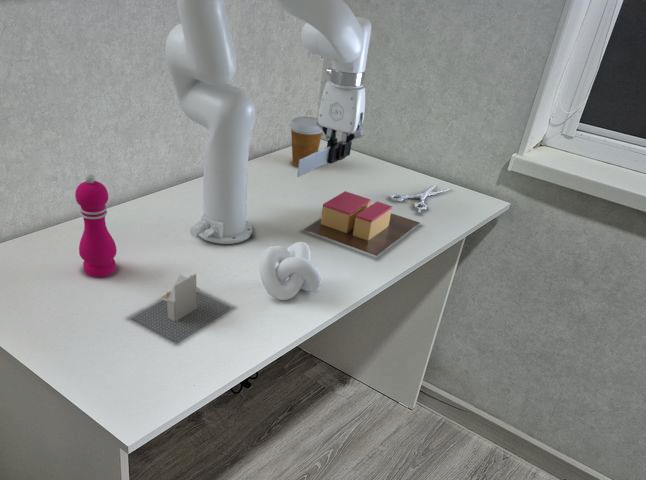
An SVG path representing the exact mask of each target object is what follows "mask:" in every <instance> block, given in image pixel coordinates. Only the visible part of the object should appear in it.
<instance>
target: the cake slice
mask: <svg viewBox="0 0 646 480" xmlns="http://www.w3.org/2000/svg"><path fill="white" fill-rule="evenodd" d="M392 210H393V206H392V205H390V204H387V203H383V202H380V201H375V202H373V203H372V204H370V206H369V207H368V208H366V209H365V210H363V211H361V212H360V213H358V214H357V215H356V218H355V224H354V231H353V236H356V237H359V238H362V239H365V240H367V241H369V240H370V239H371V238H373V237H374V236H376V235H377V234H378V233H380V232H381V231H382V230H384V229H385V228H387V227H388V226H389V222H390V216H391V213H392Z"/></svg>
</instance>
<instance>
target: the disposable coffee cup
mask: <svg viewBox="0 0 646 480" xmlns="http://www.w3.org/2000/svg"><path fill="white" fill-rule="evenodd" d="M317 122H318V117H314V116H296V117H293V118H292V119H291V122H290V123H289V127H290V131H291V155H292V156H291V157H292V166H295V167H297V168H298V164H299V160H300V159H302V158H304V157H306V156H308V155H311V154H313V153H315V152H317V151H319V149H320V143H321V139H322V136H323V133H324V132H323V130H322V129H321V128H320V127H318V126H317Z"/></svg>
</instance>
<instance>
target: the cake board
mask: <svg viewBox="0 0 646 480" xmlns="http://www.w3.org/2000/svg"><path fill="white" fill-rule="evenodd" d="M420 224H421V222H419V221H416V220H413V219H410V218H407V217H404V216H401V215H398V214H395V213H392V212H391V216H390V222H389V226H388V227H387V228H385V229H384V230H382V231H381V232H380V233H378V234H377V235H376V236H374V237H373V238H371V239H370V240H369V241H367V240H365V239H362V238H359V237H356V236H353V231H354V228H353V229H352V230H350V231H349V232H347V233H345V232H342V231H339V230H336V229H334V228H331V227H328V226H325V225H322V224H321V218H319V219H318V220H317V221H314V222H313V223H311V224H310V225H308V226H307V227H305V228H303V230H304V231H307V232H309V233H311V234H312V233H313V234H314V235H318V236H321V237H323V238H326V239H329V240H332V241H334V242H337V243H340V244H343V245H345V246H349V247H350V248H354V249H356V250H358V251H362V252H365V253H367V254H370V255H373V256H375V257H378V256H379V255H381V254H382V253H383V252H384V251H386V250H388V248H389V247H391V246H392V245H394V244H395V243H396V242H398V240H401V239H402V238H403V237H404V236H406V235H407V234H408V233H409V232H411V231H412V230H414V229H415V228H416V227H417V226H419V225H420Z"/></svg>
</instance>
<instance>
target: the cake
mask: <svg viewBox="0 0 646 480" xmlns="http://www.w3.org/2000/svg"><path fill="white" fill-rule="evenodd" d="M371 201H372V200H371V198H368V197H364V196H361V195H358V194H355V193H352V192H349V191H343V192H341V193H340V194H338V195H336V196H334V197H333V198H331V199H329V200H327V201H325V202H324V203H323V204H322V208H321V210H322V211H321V218H320V219H321V224H322V225H325V226H328V227H331V228H334V229H336V230H339V231H342V232H345V233H347V232H349V231H350V230H352V229H353V228H354V224H355V218H356V215H357V214H358V213H360V212H361V211H363V210H365V209H366V208H368V207H369V206H371Z"/></svg>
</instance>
